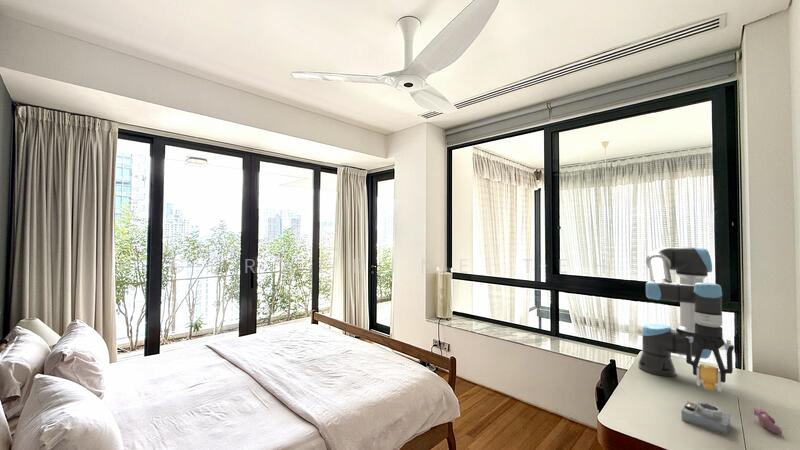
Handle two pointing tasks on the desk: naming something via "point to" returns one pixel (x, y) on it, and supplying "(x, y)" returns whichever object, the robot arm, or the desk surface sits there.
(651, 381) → the desk surface
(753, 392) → the desk surface
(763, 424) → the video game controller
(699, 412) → the box
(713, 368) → the yellow capsule
